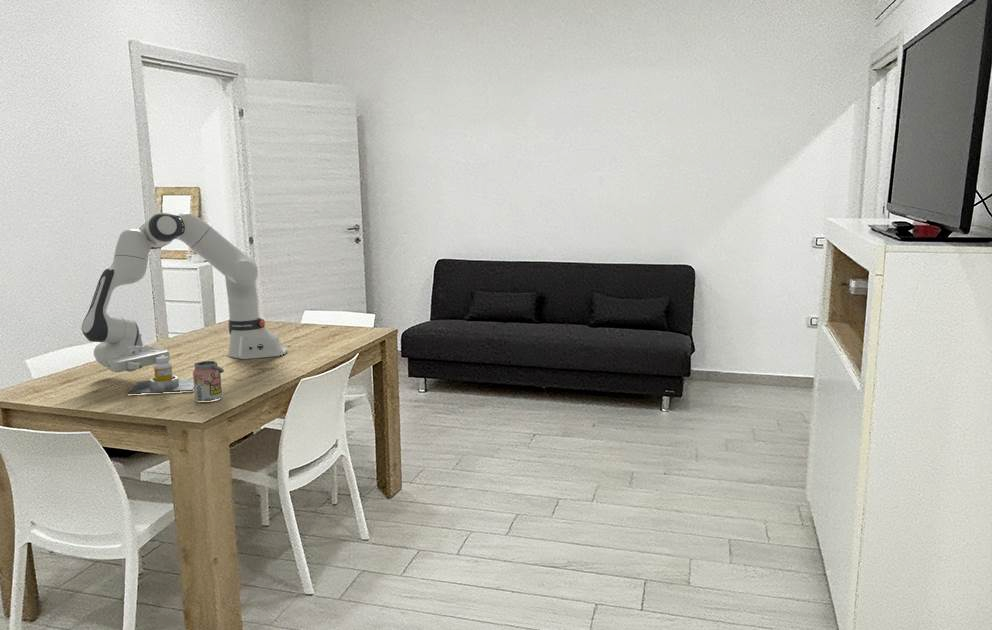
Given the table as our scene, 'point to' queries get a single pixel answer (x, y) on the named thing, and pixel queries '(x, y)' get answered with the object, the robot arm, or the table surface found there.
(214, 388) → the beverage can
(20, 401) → the table surface
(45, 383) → the table surface
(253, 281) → the robot arm
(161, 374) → the supplement bottle
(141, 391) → the collar plate
